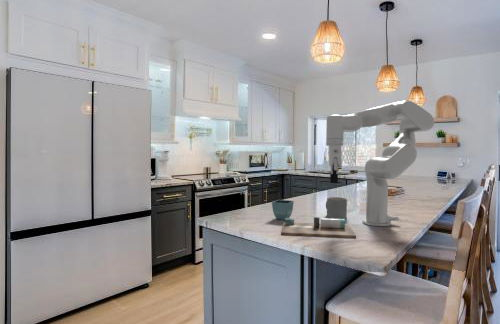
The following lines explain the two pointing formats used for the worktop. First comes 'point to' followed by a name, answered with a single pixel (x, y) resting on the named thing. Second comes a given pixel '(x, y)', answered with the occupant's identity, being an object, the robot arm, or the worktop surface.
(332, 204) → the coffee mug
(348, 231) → the walnut board
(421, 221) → the worktop surface
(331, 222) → the swing bar
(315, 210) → the worktop surface
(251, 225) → the worktop surface
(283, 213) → the flower pot
